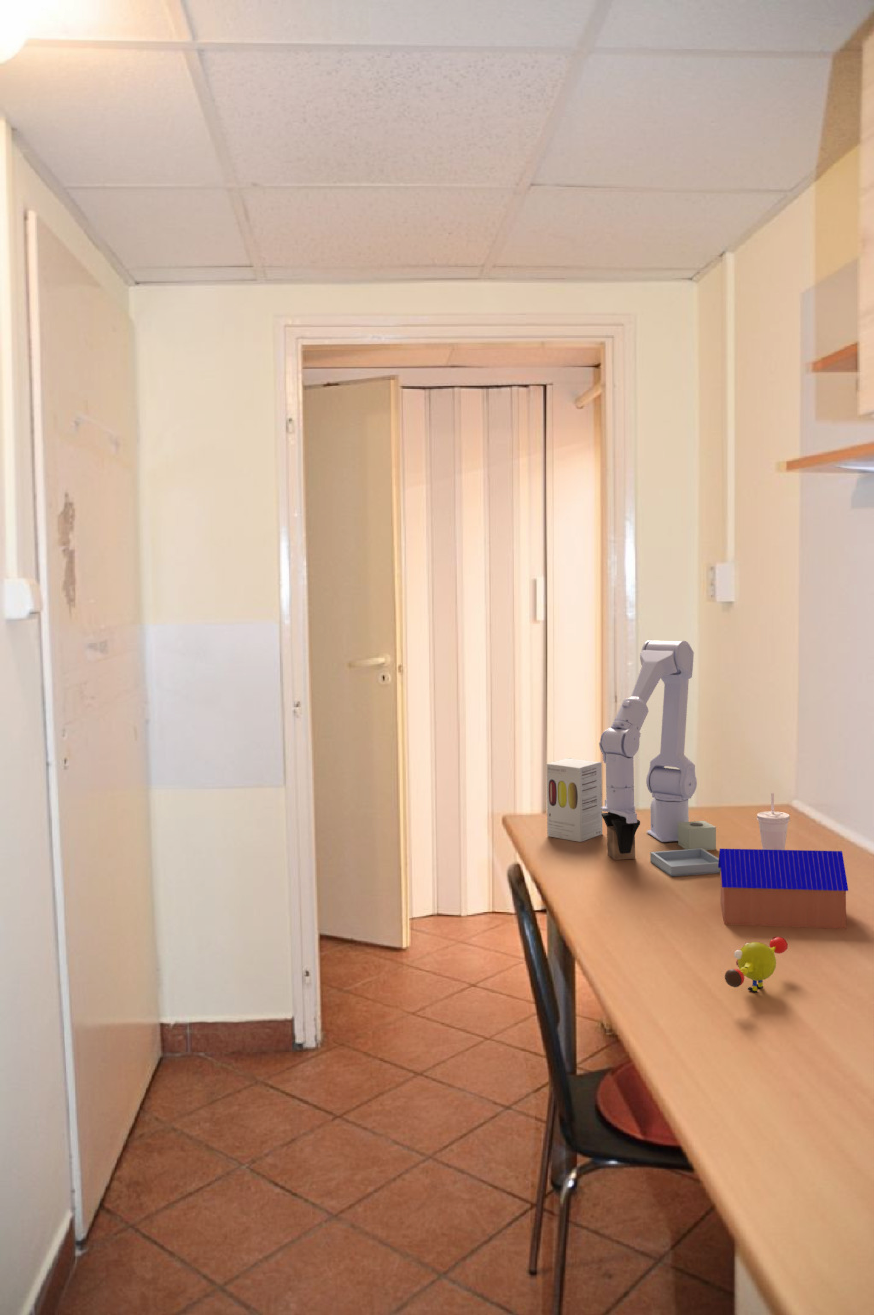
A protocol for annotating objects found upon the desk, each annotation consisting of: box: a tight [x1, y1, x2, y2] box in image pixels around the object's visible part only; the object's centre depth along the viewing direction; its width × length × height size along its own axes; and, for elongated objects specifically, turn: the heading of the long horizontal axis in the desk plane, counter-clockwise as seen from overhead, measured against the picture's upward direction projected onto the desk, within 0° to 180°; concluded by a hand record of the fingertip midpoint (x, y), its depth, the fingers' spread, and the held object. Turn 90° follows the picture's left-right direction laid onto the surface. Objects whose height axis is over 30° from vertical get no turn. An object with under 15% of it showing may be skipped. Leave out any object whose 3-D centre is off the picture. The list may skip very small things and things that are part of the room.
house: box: [718, 848, 849, 929], centre depth 182 cm, size 12×20×12 cm, turn 78°
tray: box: [649, 848, 720, 878], centre depth 213 cm, size 11×11×2 cm
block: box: [606, 826, 636, 861], centre depth 222 cm, size 4×4×6 cm
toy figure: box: [724, 936, 789, 993], centre depth 151 cm, size 18×6×7 cm, turn 141°
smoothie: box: [756, 792, 791, 850], centre depth 215 cm, size 6×6×14 cm
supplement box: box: [546, 757, 603, 843], centre depth 241 cm, size 10×9×17 cm
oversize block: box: [677, 820, 717, 851], centre depth 228 cm, size 6×6×5 cm
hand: (621, 849), depth 223 cm, fingers closed on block, 4 cm apart
